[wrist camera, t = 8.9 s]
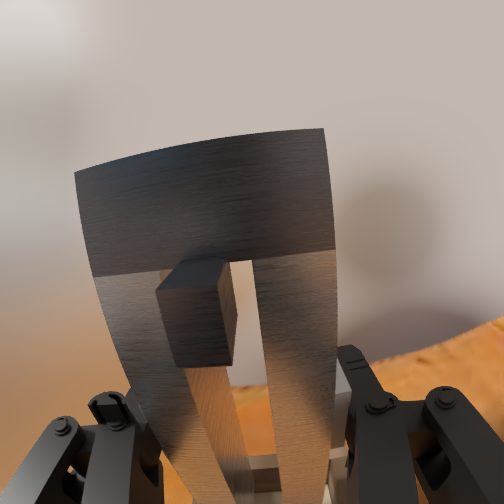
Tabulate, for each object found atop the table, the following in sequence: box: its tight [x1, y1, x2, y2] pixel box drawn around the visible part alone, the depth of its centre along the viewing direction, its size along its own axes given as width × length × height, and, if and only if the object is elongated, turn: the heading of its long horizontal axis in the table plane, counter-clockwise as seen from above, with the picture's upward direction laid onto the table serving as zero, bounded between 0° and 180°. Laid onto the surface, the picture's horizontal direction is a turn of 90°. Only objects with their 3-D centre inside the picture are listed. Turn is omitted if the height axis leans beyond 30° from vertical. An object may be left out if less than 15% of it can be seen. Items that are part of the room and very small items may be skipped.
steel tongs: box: [74, 128, 337, 504], centre depth 7 cm, size 4×6×16 cm
